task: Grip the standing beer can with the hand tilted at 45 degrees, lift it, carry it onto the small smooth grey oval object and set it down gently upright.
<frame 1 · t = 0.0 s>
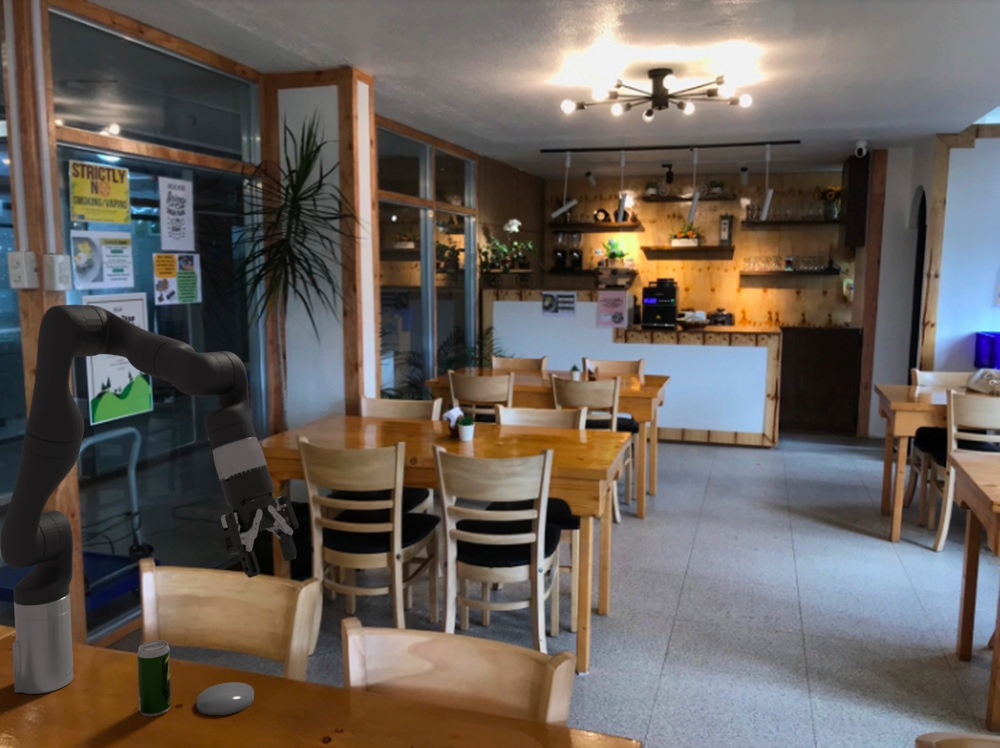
hand: (273, 567, 124), 31 cm above the table, tool tilted 20°, fingers open, 8 cm apart
beer can: (155, 711, 141), on the table
smooth grey oval object: (225, 701, 145), on the table
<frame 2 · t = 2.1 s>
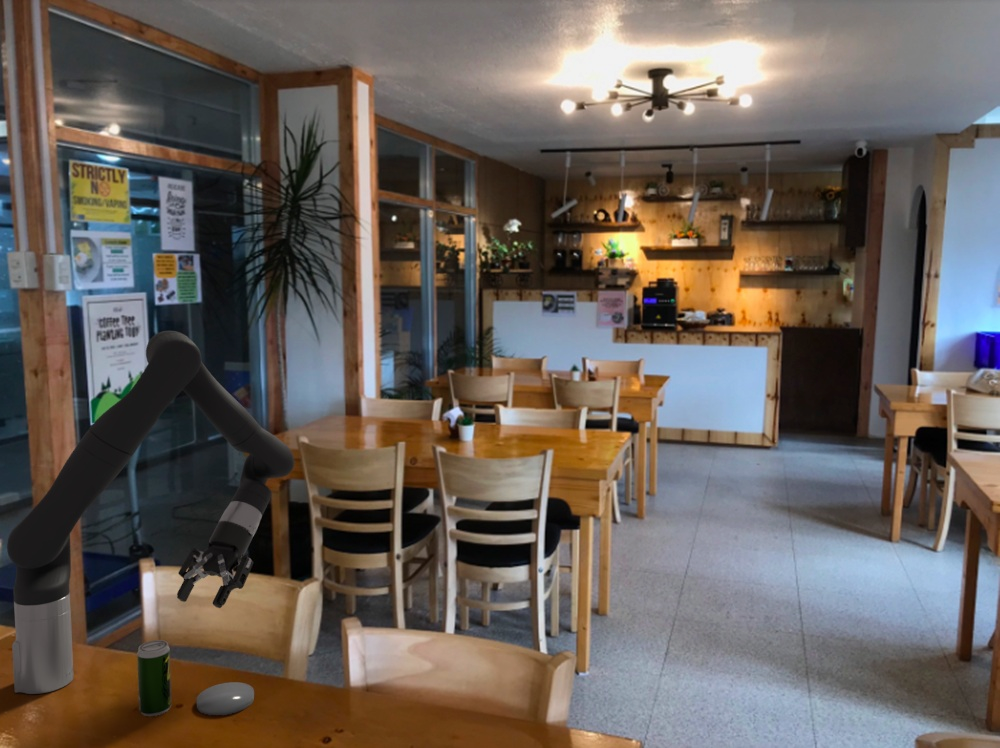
hand: (198, 603, 151), 16 cm above the table, tool tilted 45°, fingers open, 8 cm apart
nothing on the table moved.
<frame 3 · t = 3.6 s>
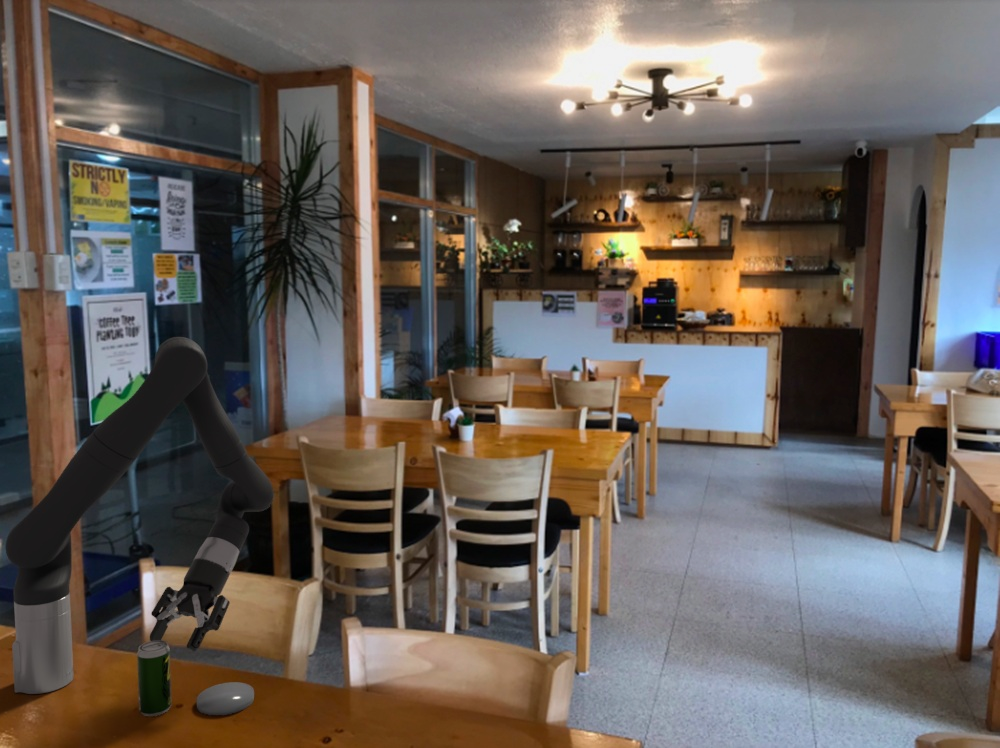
hand: (171, 645, 145), 10 cm above the table, tool tilted 45°, fingers open, 8 cm apart
nothing on the table moved.
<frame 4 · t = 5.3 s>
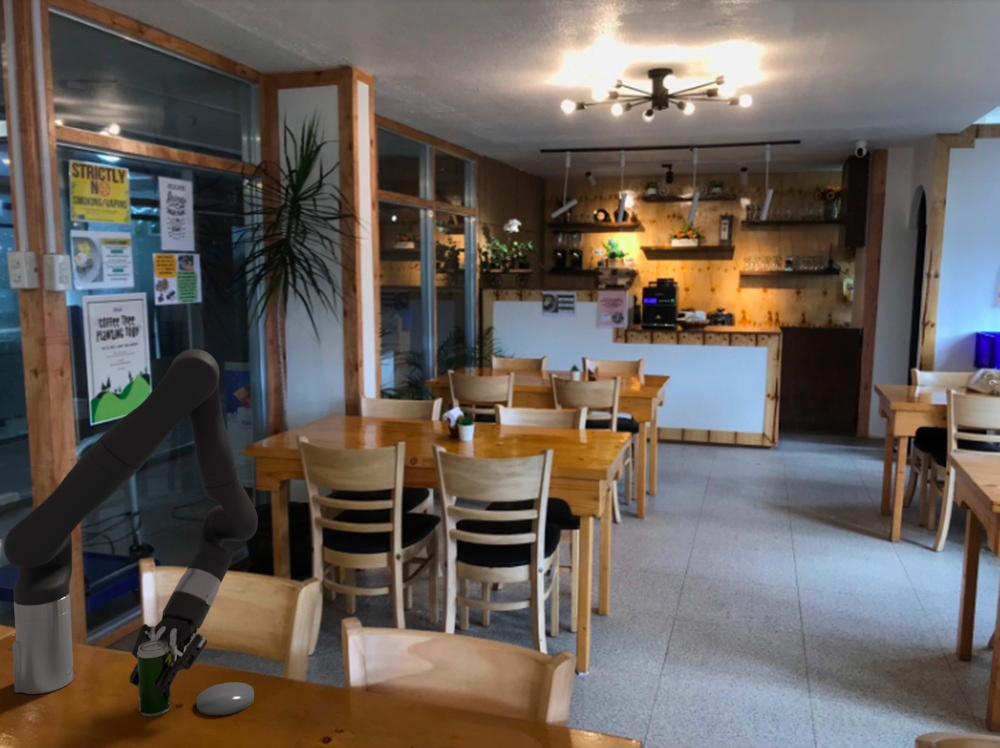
hand: (147, 686, 139), 5 cm above the table, tool tilted 45°, fingers closed on beer can, 5 cm apart
beer can: (155, 711, 141), on the table, touching gripper
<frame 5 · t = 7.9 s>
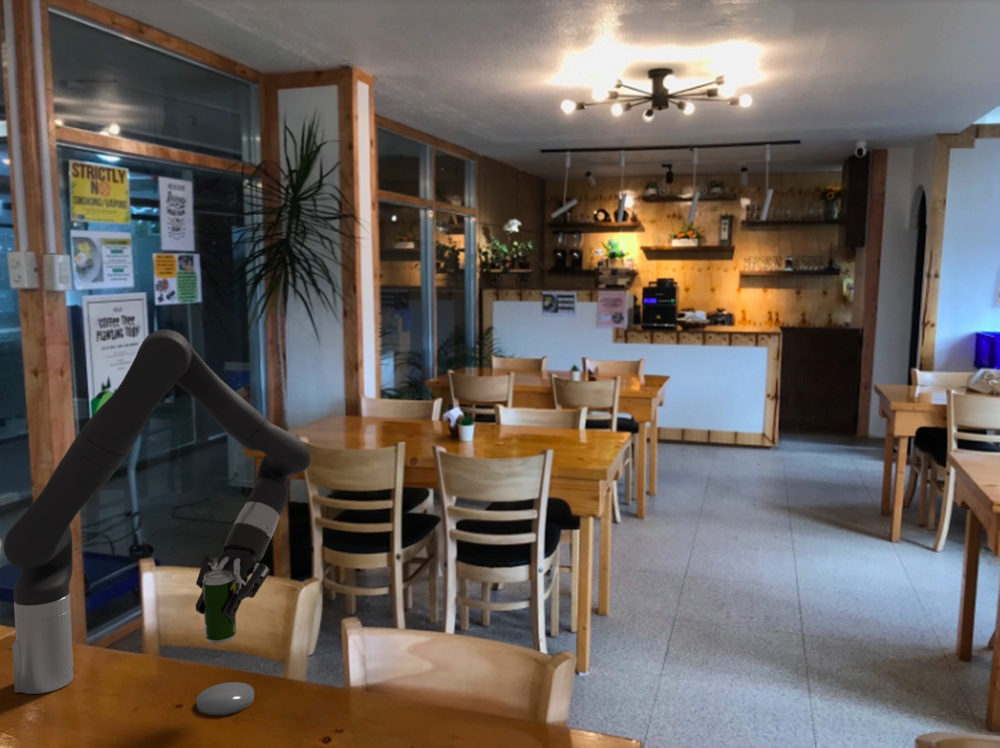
hand: (213, 614, 141), 17 cm above the table, tool tilted 45°, fingers closed on beer can, 5 cm apart
beer can: (221, 638, 143), point 12 cm above the table, touching gripper
when the fingers open (7 cm above the table, at t = 10.8 s): beer can drops 1 cm, resting on smooth grey oval object.
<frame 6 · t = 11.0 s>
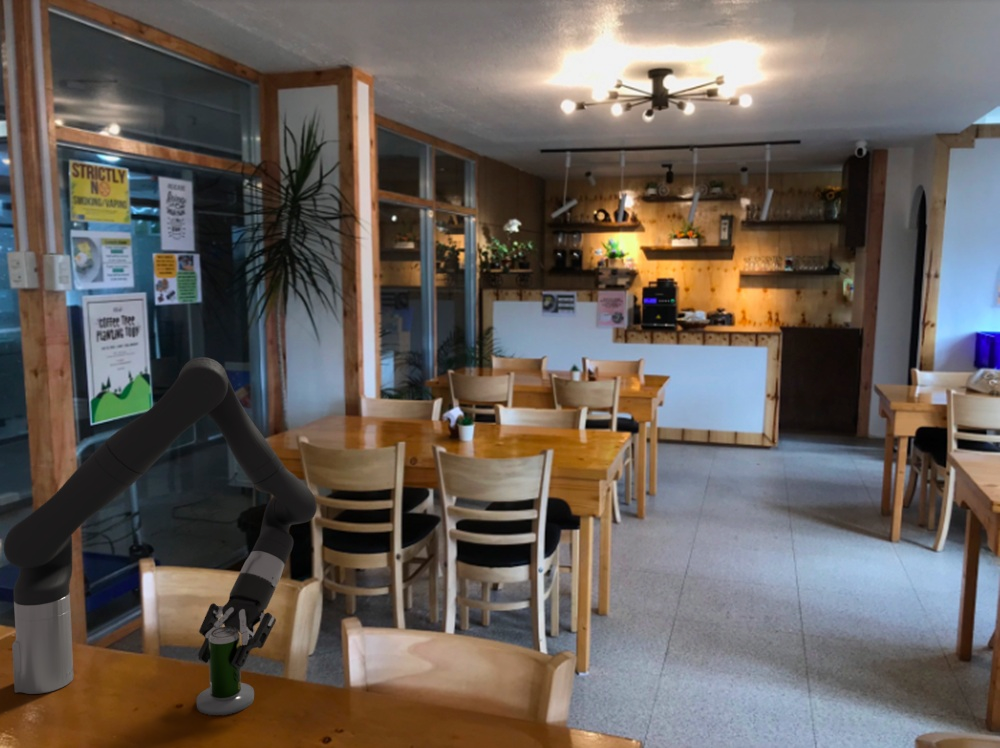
hand: (218, 664, 142), 8 cm above the table, tool tilted 45°, fingers open, 6 cm apart
beer can: (225, 695, 145), point 1 cm above the table, touching smooth grey oval object
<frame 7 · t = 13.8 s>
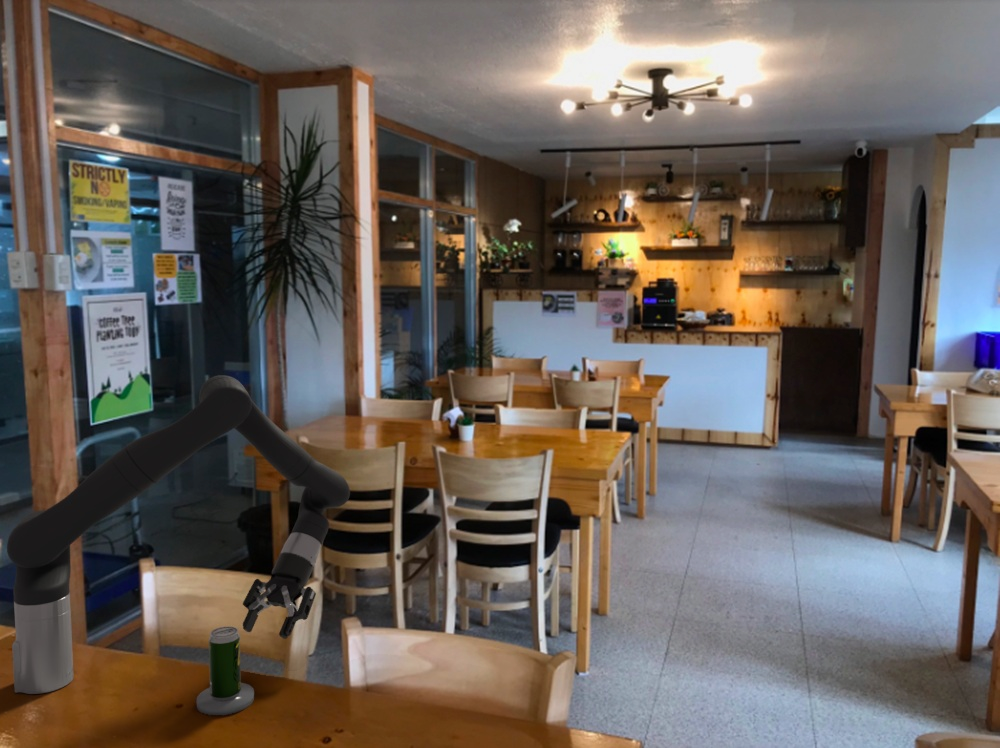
hand: (264, 633, 155), 8 cm above the table, tool tilted 45°, fingers open, 8 cm apart
nothing on the table moved.
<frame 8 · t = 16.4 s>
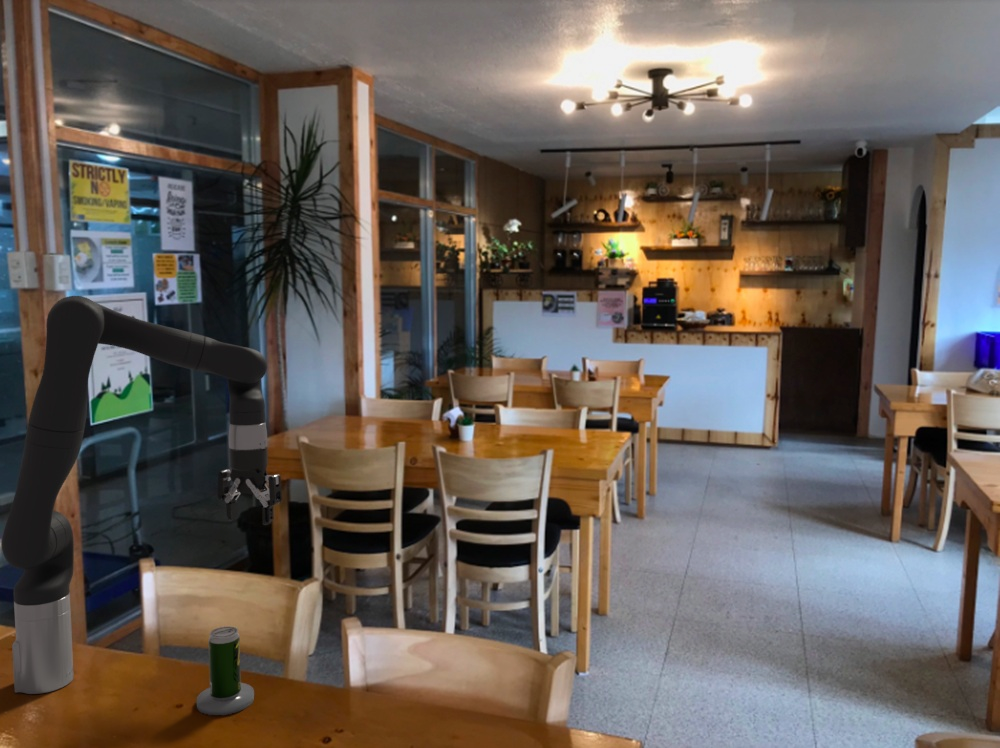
hand: (250, 521, 162), 28 cm above the table, tool pointing down, fingers open, 8 cm apart
nothing on the table moved.
at the end: beer can inside the target area on the smooth grey oval object (0.2 cm from its centre), point 1.0 cm above the smooth grey oval object's base; beer can tilted 0°; the gripper is holding nothing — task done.
